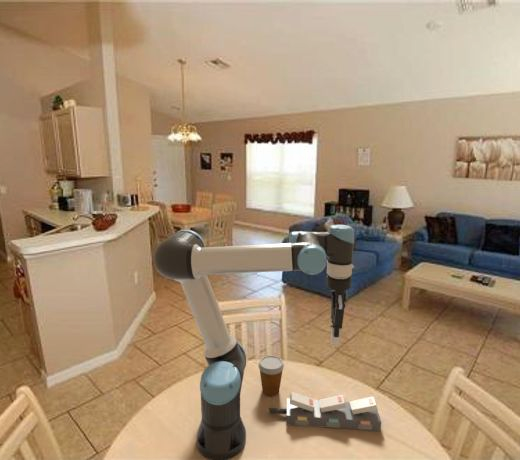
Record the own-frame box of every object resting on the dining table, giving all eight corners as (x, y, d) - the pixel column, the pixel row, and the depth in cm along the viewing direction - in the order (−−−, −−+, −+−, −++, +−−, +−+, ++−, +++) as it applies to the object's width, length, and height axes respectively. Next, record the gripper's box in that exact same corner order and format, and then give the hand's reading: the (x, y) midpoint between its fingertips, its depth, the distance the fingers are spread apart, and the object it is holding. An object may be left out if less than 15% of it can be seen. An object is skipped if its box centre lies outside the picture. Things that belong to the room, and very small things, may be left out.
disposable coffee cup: (281, 401, 123) (282, 371, 120) (255, 397, 124) (255, 368, 122) (285, 384, 132) (285, 356, 129) (260, 380, 134) (261, 353, 131)
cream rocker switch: (353, 414, 111) (351, 409, 111) (350, 405, 115) (349, 401, 115) (377, 409, 110) (376, 404, 110) (374, 400, 114) (373, 395, 114)
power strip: (268, 424, 112) (268, 412, 111) (269, 405, 120) (269, 394, 119) (380, 432, 109) (382, 419, 108) (374, 412, 117) (375, 401, 116)
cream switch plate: (321, 412, 112) (320, 407, 112) (320, 403, 116) (319, 399, 116) (346, 407, 111) (344, 402, 111) (344, 399, 115) (342, 394, 115)
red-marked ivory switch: (289, 403, 113) (291, 399, 112) (289, 395, 116) (291, 391, 116) (312, 412, 113) (315, 407, 112) (312, 403, 116) (314, 398, 116)
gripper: (355, 283, 99) (350, 356, 104) (347, 268, 112) (343, 334, 117) (329, 282, 100) (325, 354, 105) (324, 267, 113) (321, 333, 118)
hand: (335, 343), depth 111 cm, fingers closed
